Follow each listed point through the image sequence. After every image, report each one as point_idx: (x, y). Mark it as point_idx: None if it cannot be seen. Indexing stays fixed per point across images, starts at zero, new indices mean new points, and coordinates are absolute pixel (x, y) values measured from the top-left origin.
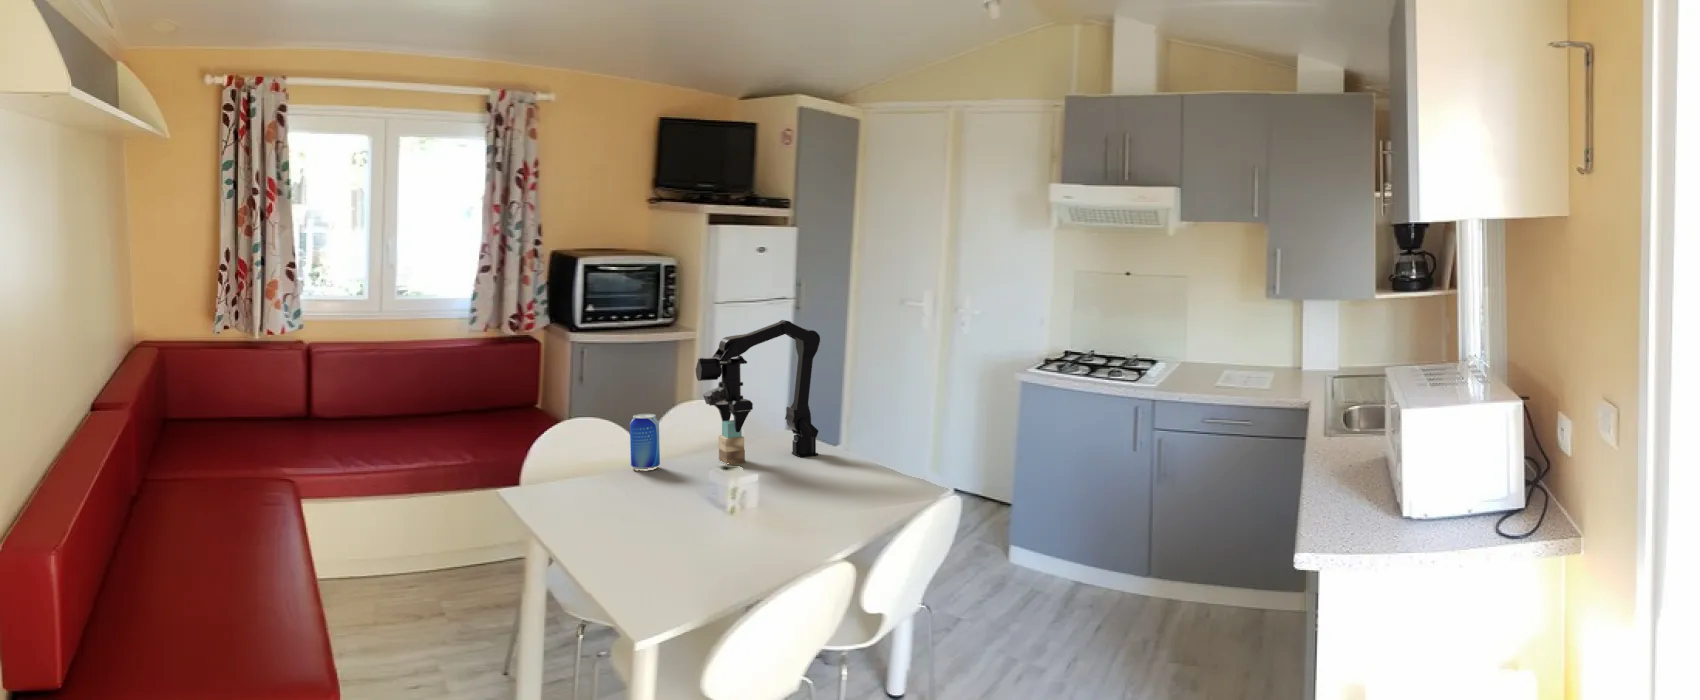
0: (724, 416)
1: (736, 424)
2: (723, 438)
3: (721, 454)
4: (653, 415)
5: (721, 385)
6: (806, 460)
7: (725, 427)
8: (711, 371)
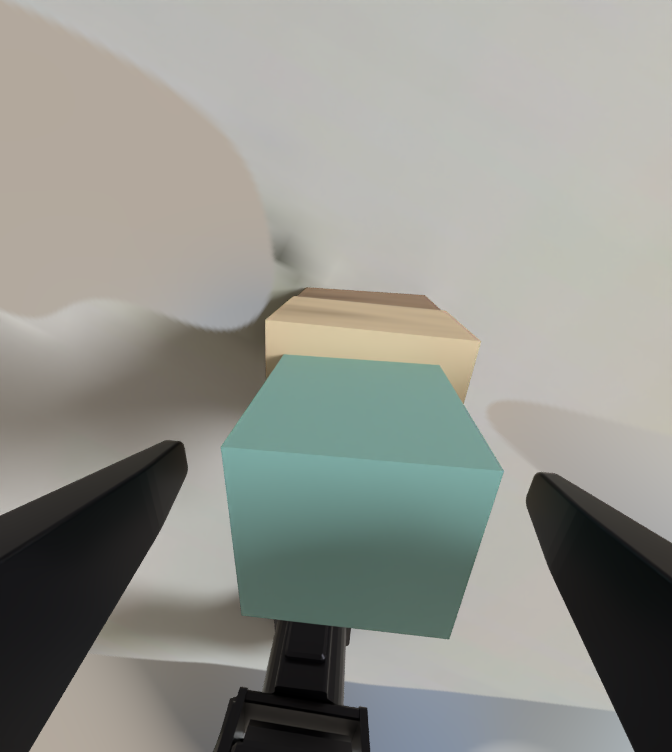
0: (663, 627)
1: (49, 503)
2: (325, 324)
3: (387, 301)
4: None
5: None
6: (225, 578)
7: (336, 411)
8: None
